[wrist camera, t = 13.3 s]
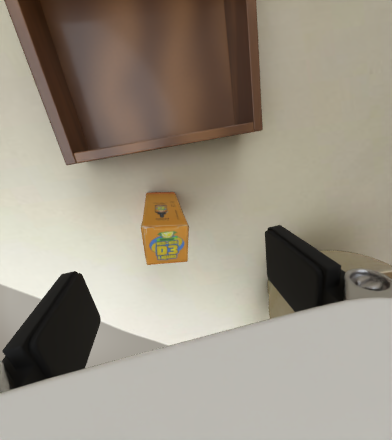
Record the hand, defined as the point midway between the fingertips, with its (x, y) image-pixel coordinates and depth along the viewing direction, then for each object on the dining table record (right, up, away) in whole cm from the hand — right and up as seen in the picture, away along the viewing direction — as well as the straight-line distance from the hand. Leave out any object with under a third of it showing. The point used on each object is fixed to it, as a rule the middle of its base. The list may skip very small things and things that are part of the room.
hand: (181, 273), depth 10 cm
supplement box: (-3, +4, +14) cm, 15 cm away
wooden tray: (-3, +17, +9) cm, 19 cm away
